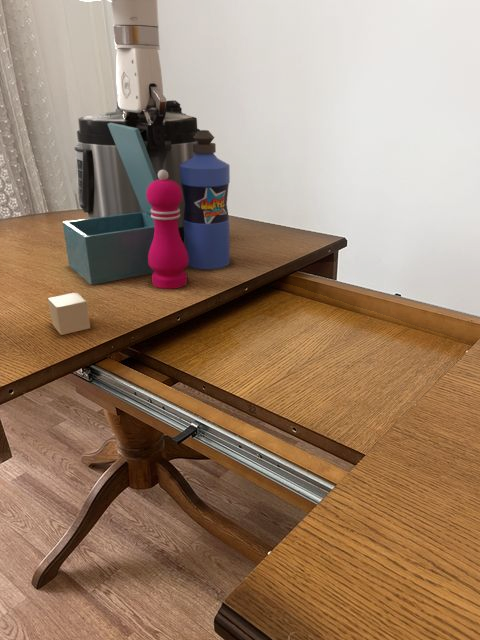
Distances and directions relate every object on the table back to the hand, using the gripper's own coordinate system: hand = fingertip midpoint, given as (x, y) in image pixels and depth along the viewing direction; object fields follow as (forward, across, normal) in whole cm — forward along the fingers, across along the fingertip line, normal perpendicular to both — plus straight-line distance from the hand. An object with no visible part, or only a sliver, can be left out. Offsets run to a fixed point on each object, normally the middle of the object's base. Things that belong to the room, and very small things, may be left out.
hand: (145, 146), depth 100 cm
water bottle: (+22, +6, +9) cm, 25 cm away
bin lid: (+5, 0, -2) cm, 5 cm away
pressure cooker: (+22, -22, +8) cm, 32 cm away
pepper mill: (+22, +13, -3) cm, 26 cm away
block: (+22, +22, -24) cm, 39 cm away
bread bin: (+22, 0, -7) cm, 23 cm away
